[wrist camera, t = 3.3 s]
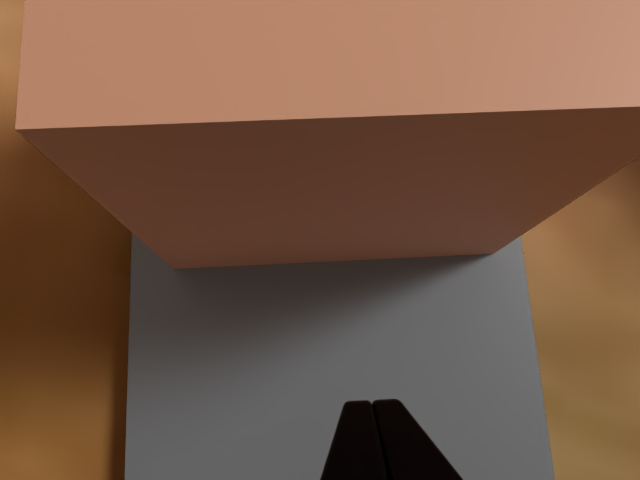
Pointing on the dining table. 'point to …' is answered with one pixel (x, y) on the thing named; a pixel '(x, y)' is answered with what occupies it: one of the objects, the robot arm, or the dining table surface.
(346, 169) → the t block
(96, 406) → the dining table surface
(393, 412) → the robot arm
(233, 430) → the board
